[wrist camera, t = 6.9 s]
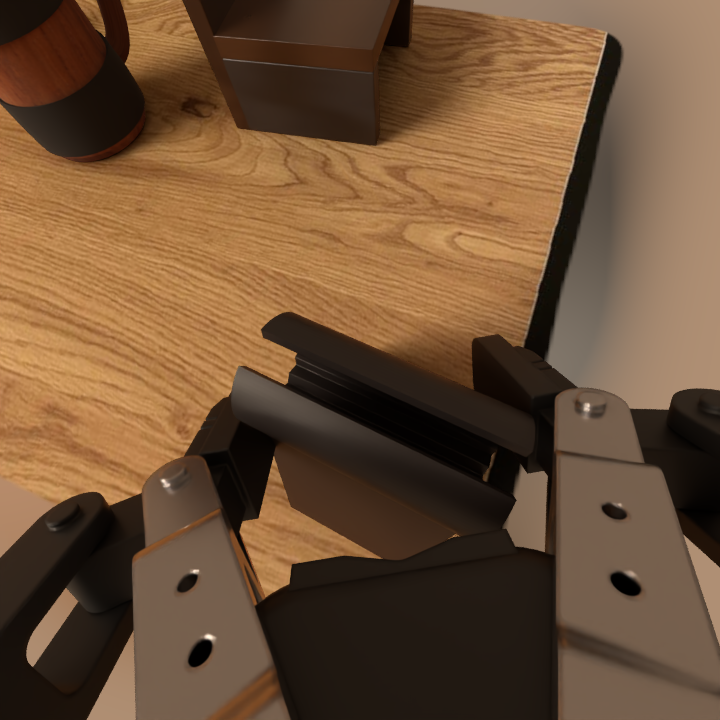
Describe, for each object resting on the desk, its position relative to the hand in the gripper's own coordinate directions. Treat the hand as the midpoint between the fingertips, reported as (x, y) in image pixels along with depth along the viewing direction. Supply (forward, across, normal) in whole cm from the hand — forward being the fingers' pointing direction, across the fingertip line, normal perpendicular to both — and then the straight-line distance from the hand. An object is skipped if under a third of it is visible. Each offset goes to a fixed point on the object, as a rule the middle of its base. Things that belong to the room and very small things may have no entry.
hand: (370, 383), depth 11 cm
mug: (+26, +17, -14) cm, 34 cm away
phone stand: (+5, 0, +7) cm, 8 cm away
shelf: (+25, -1, -13) cm, 28 cm away
